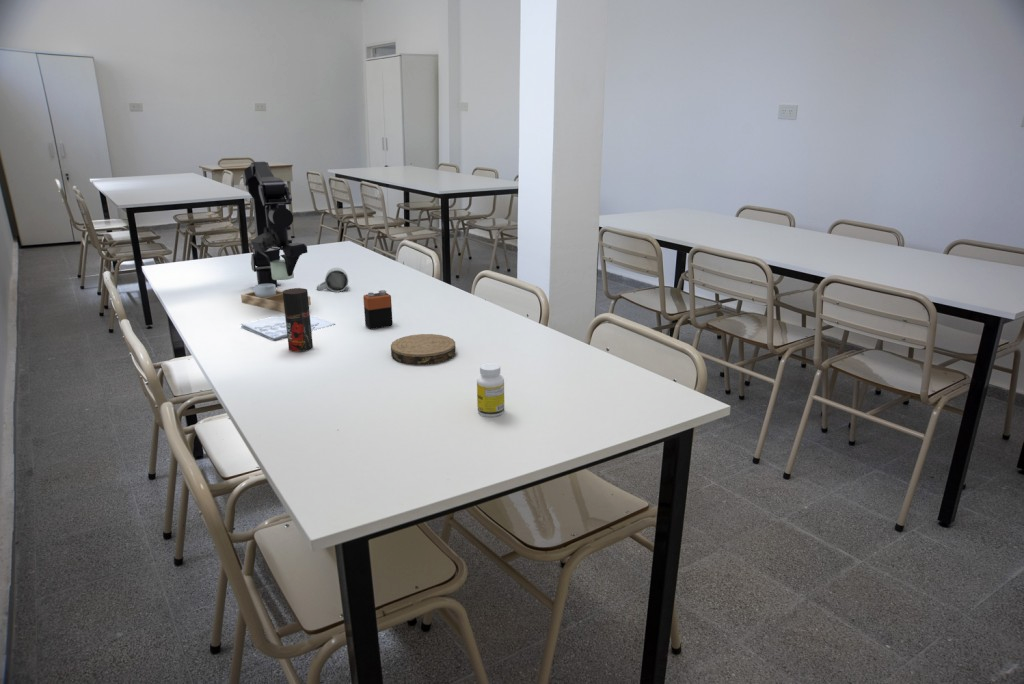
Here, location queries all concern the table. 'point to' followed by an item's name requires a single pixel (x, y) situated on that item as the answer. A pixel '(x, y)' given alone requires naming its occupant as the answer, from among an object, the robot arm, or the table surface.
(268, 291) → the pale blue rounded cylinder
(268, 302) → the divided wooden tray
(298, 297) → the deodorant
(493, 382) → the supplement bottle
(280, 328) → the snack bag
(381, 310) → the battery
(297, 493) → the table surface
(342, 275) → the ceramic mug
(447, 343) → the wood slice coaster
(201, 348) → the table surface
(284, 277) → the sage green cylinder
